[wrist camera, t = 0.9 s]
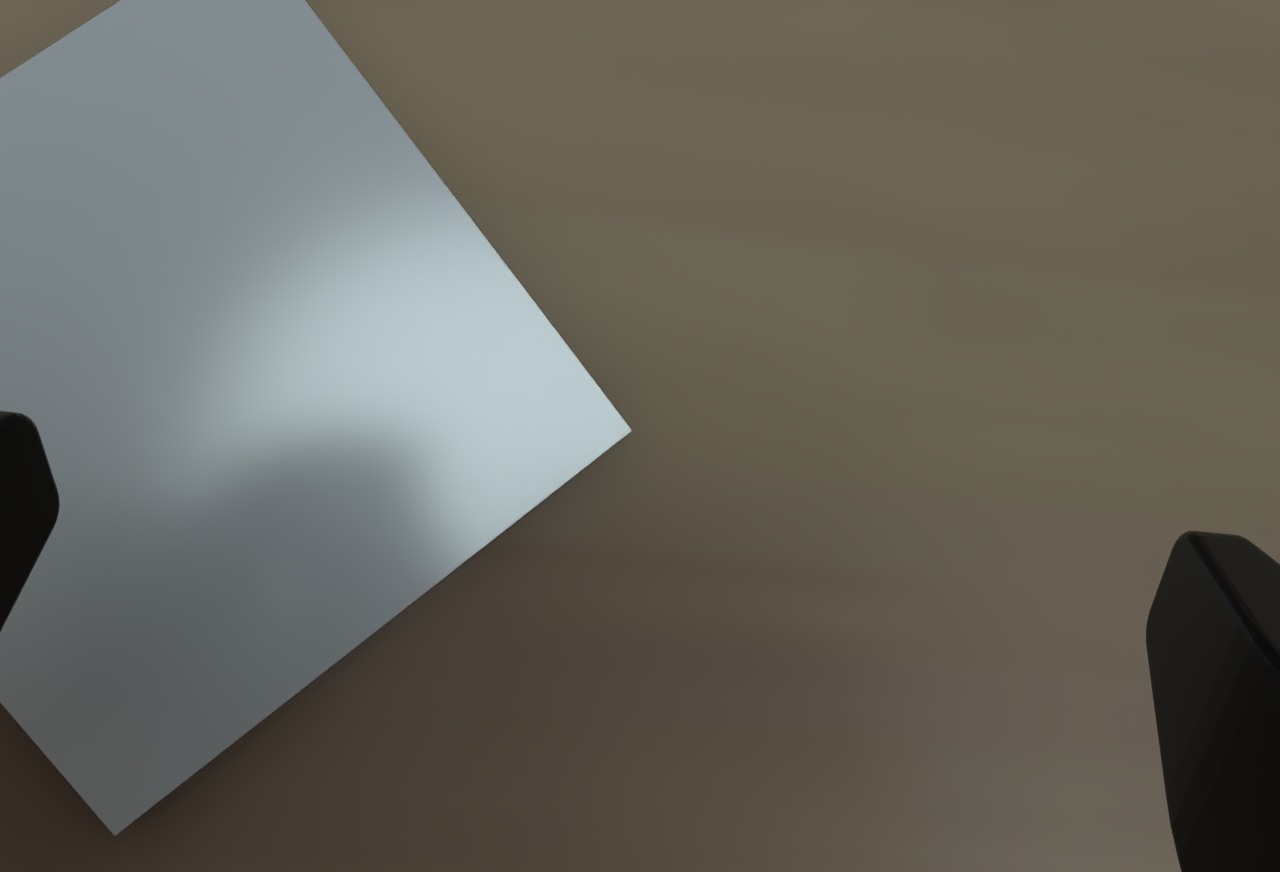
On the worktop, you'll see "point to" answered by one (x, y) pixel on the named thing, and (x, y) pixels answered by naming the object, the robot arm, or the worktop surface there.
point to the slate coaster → (244, 381)
